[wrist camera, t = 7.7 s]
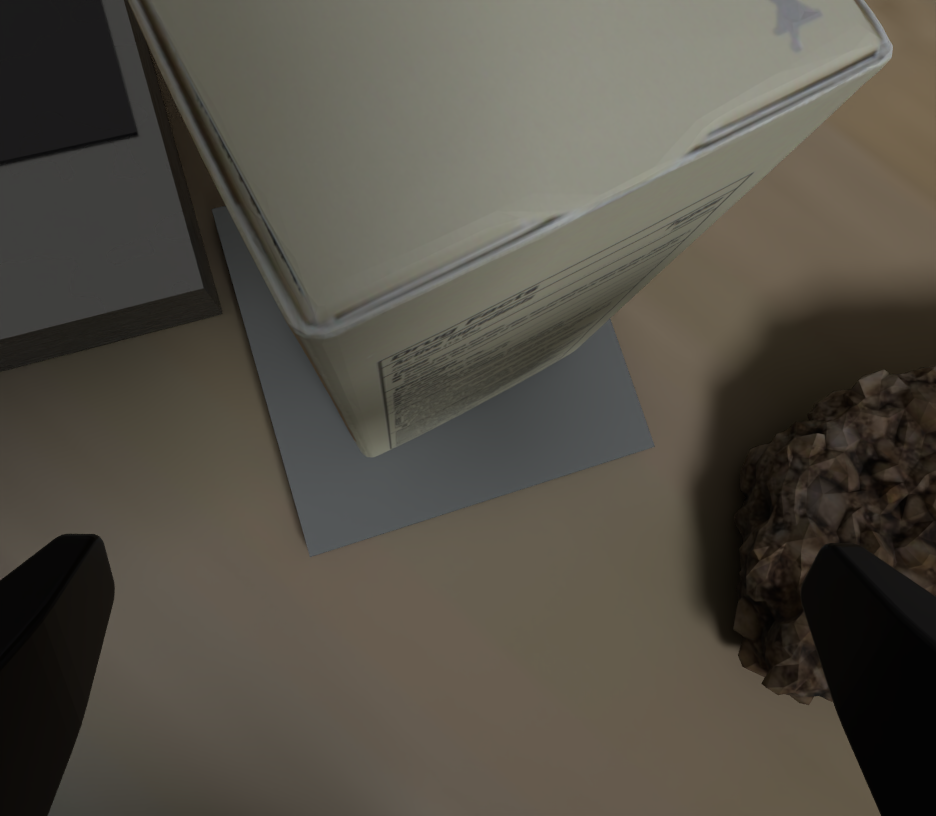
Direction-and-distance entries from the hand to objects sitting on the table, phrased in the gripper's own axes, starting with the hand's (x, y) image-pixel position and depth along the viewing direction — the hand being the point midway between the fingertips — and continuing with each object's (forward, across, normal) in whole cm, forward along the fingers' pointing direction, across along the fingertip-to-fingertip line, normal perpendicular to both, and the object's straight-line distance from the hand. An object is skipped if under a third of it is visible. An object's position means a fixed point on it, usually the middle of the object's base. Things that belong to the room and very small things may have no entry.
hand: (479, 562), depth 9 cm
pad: (+10, 0, +2) cm, 11 cm away
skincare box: (+10, 0, +2) cm, 10 cm away
